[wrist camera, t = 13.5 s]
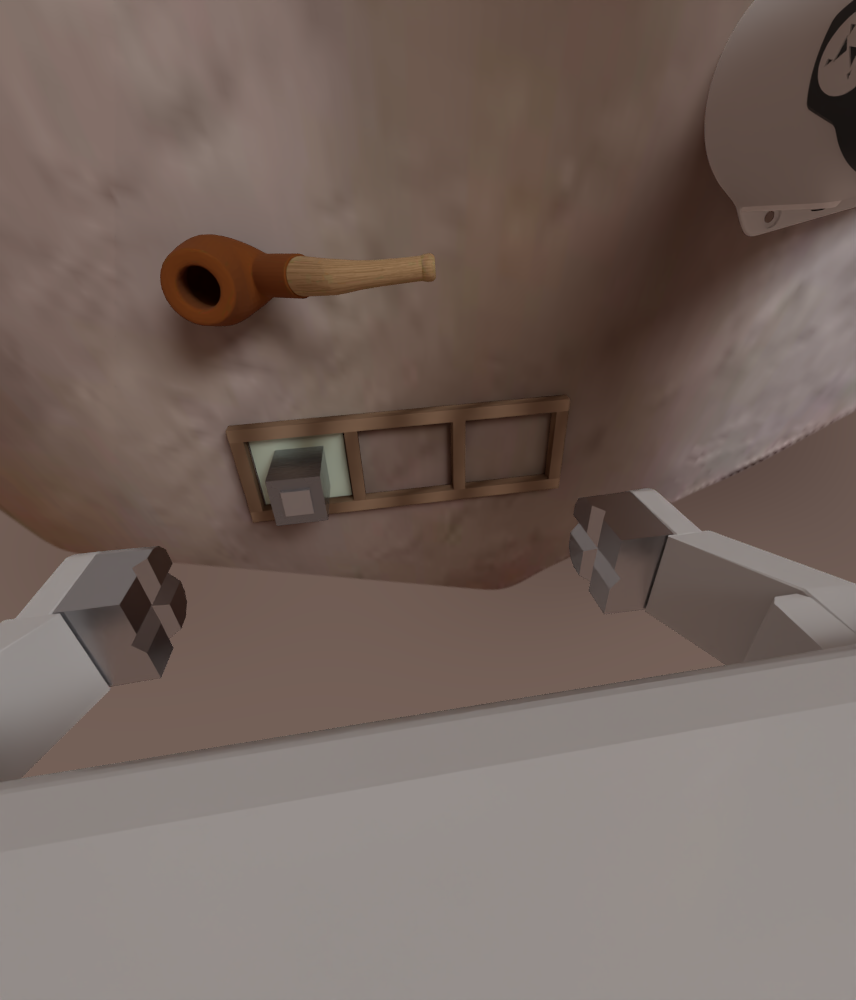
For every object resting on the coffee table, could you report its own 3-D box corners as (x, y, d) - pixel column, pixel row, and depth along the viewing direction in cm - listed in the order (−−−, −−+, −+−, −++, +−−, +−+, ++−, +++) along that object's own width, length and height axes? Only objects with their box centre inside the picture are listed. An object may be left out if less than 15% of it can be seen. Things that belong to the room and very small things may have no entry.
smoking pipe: (228, 321, 37) (194, 241, 34) (447, 270, 33) (430, 173, 30) (175, 343, 31) (128, 249, 28) (434, 284, 27) (411, 166, 24)
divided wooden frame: (565, 394, 44) (570, 398, 43) (554, 482, 50) (558, 487, 49) (228, 425, 41) (225, 431, 40) (255, 515, 46) (253, 522, 45)
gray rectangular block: (323, 445, 43) (319, 478, 38) (330, 486, 46) (328, 521, 40) (274, 450, 43) (264, 483, 37) (284, 491, 45) (276, 527, 40)
